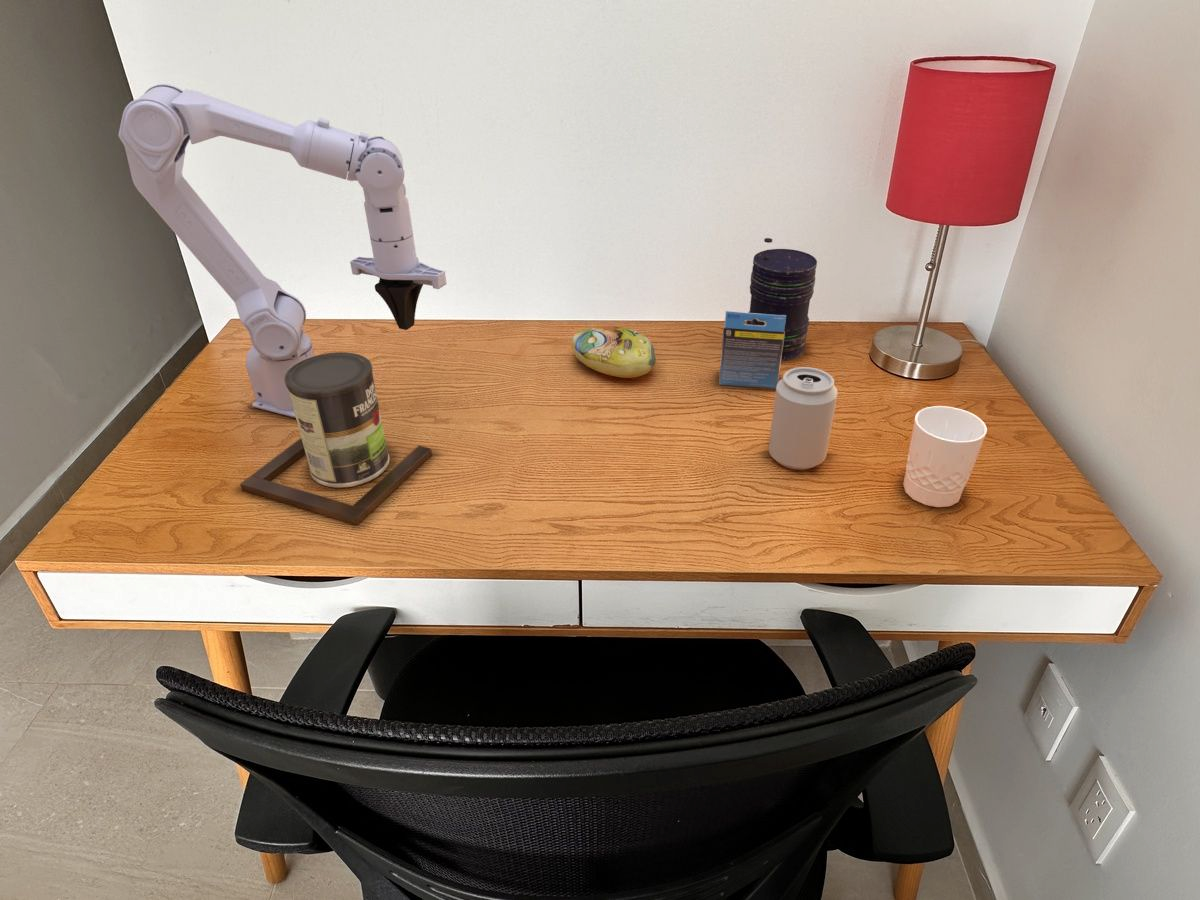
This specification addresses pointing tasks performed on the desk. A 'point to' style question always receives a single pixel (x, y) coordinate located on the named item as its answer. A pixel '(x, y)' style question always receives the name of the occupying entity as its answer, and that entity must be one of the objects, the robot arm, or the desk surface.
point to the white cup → (942, 454)
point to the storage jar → (784, 293)
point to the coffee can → (338, 418)
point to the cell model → (614, 351)
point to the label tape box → (751, 350)
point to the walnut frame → (326, 506)
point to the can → (802, 418)
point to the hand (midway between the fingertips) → (406, 326)
